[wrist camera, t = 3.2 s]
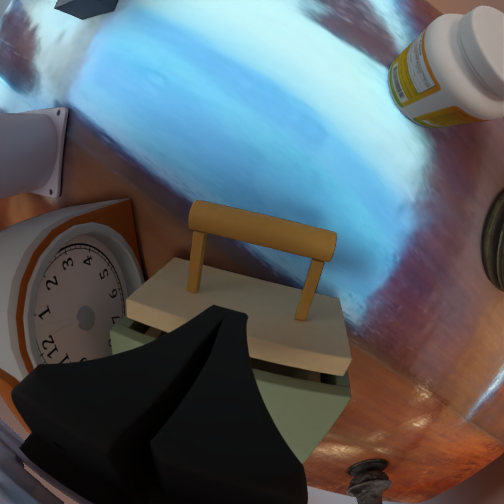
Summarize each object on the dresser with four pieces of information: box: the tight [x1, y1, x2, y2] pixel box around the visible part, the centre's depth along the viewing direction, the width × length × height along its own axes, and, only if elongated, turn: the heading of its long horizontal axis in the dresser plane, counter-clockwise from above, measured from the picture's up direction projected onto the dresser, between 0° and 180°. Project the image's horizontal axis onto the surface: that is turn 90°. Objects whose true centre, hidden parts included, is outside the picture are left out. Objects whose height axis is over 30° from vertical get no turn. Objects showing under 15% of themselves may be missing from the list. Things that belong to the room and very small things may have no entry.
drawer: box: [126, 200, 352, 383], centre depth 17 cm, size 18×11×6 cm, turn 169°
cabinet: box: [110, 314, 351, 464], centre depth 18 cm, size 15×13×8 cm
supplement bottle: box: [388, 6, 504, 128], centre depth 9 cm, size 5×5×10 cm
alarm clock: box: [0, 198, 145, 434], centre depth 16 cm, size 15×8×14 cm, turn 4°
